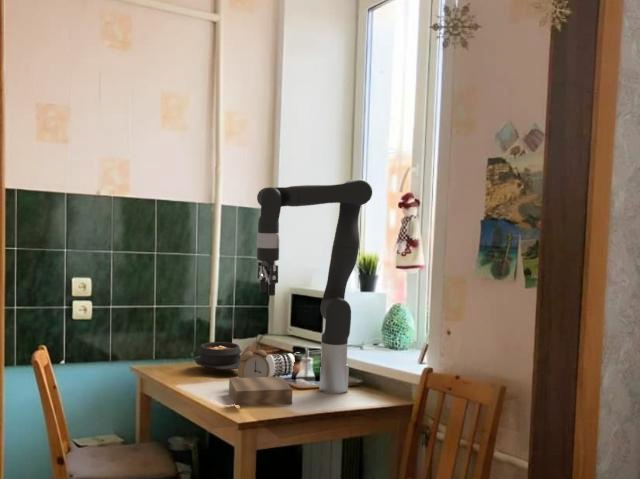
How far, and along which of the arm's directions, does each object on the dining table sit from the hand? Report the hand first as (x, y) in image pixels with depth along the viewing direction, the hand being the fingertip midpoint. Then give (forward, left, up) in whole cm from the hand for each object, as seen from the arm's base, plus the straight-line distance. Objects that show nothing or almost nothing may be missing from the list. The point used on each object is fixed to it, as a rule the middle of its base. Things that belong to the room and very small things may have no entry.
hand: (267, 293), depth 231 cm
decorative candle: (-8, -19, -30) cm, 36 cm away
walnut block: (+4, +9, -34) cm, 36 cm away
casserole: (+5, -39, -34) cm, 52 cm away
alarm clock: (+1, -8, -34) cm, 35 cm away
